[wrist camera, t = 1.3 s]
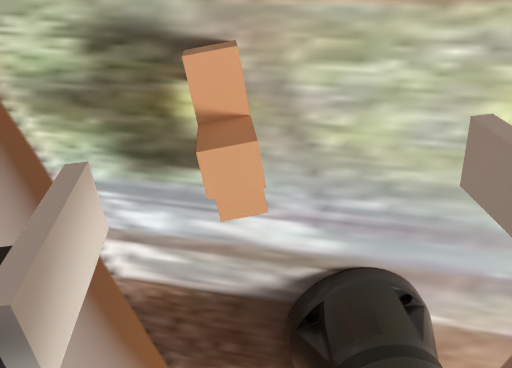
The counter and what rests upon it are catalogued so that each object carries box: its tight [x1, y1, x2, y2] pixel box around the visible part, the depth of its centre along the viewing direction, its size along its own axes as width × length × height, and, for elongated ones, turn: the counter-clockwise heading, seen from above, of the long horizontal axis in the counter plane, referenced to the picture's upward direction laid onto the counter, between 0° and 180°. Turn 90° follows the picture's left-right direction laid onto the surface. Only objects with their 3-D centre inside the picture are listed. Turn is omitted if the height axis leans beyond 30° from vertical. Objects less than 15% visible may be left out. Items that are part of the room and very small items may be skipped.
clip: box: [182, 40, 268, 222], centre depth 31 cm, size 12×4×12 cm, turn 10°
